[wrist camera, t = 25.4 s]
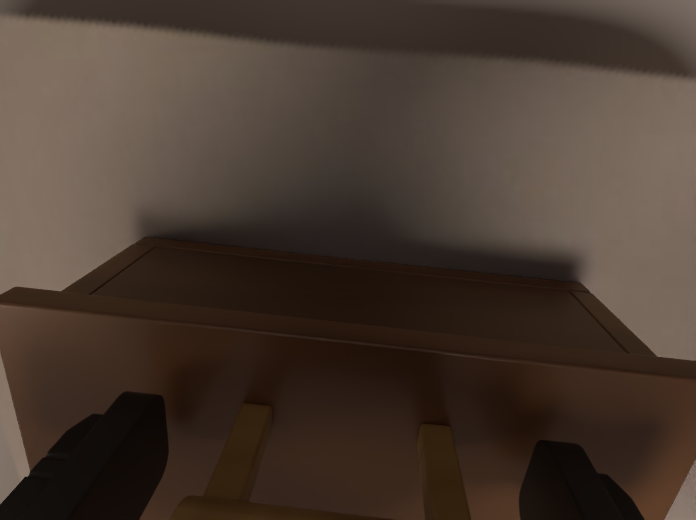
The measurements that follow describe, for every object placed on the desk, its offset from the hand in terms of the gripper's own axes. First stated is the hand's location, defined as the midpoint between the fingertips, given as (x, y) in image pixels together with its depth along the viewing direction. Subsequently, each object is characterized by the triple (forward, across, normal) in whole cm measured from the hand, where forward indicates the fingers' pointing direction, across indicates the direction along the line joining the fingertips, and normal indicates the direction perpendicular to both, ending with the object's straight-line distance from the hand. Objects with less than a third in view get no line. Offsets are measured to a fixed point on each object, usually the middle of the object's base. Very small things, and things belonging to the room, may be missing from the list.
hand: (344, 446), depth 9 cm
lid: (+1, 0, +4) cm, 4 cm away
